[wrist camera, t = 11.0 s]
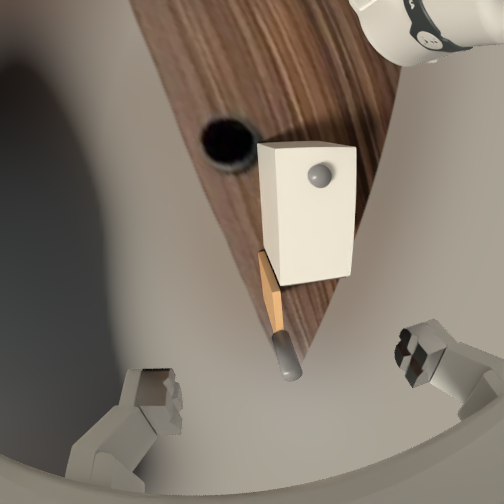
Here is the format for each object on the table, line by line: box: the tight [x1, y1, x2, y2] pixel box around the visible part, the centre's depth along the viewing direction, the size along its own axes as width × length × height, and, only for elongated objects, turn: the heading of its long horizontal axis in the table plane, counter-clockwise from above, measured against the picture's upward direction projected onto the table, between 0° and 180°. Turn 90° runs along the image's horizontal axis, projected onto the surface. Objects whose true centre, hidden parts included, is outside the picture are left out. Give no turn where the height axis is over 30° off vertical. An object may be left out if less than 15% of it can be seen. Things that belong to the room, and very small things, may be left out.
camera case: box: [257, 141, 357, 287], centre depth 36 cm, size 16×10×13 cm, turn 4°
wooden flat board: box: [258, 251, 302, 381], centre depth 38 cm, size 2×9×19 cm, turn 7°
